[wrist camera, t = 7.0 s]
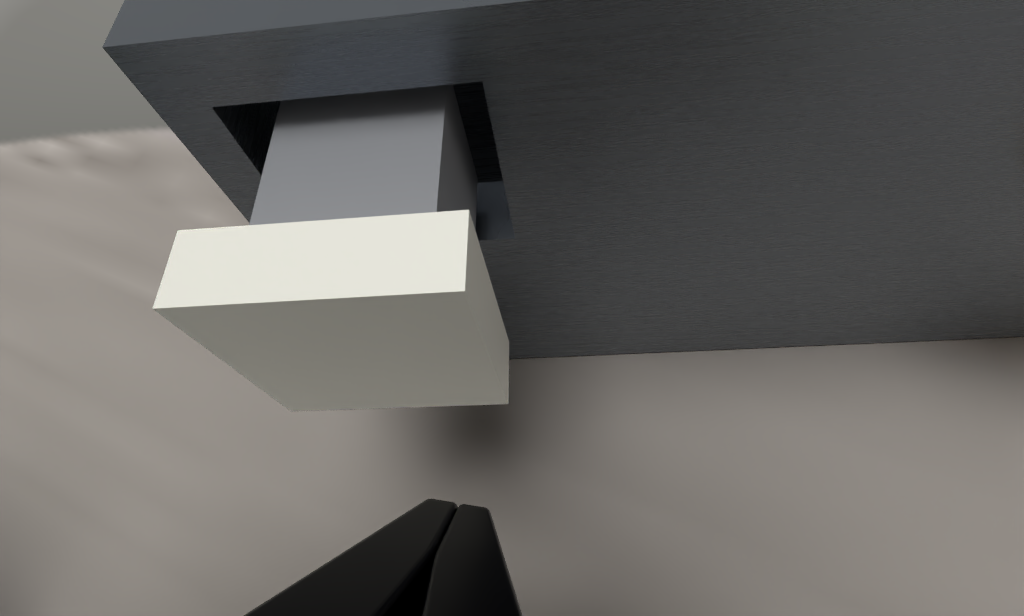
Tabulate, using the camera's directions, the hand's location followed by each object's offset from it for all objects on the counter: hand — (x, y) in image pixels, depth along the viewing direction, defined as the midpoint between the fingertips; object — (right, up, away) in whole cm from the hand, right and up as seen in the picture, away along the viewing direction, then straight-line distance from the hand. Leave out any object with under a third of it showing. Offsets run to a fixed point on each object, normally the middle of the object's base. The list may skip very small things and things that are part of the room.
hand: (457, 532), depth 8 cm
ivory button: (-1, +3, +4) cm, 5 cm away
